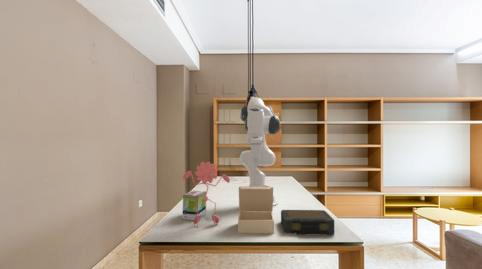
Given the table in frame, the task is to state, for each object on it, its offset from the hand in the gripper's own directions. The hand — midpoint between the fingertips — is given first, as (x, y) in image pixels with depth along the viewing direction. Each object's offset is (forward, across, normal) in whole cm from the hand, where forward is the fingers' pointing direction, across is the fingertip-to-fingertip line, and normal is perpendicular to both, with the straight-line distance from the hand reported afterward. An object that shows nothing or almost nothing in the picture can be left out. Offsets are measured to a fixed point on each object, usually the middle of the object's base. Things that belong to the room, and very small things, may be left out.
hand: (255, 167), depth 143 cm
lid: (+20, -9, 0) cm, 21 cm away
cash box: (+34, -9, +27) cm, 44 cm away
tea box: (+34, -28, -37) cm, 57 cm away
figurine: (+34, -14, -28) cm, 45 cm away
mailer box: (+33, -6, 0) cm, 34 cm away
